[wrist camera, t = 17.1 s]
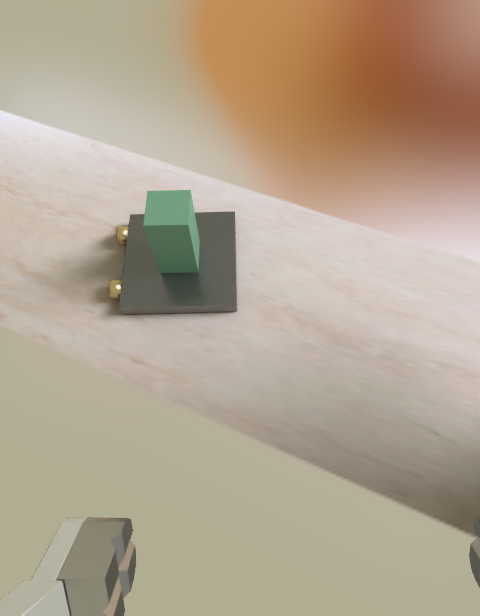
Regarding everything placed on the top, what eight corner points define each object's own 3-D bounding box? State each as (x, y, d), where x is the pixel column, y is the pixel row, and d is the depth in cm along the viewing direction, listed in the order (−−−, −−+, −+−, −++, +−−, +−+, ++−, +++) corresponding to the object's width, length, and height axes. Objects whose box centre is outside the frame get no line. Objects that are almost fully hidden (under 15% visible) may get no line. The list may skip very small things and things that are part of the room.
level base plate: (234, 211, 49) (234, 200, 47) (236, 311, 43) (236, 302, 41) (124, 215, 49) (119, 203, 48) (111, 314, 43) (105, 306, 42)
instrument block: (199, 236, 46) (190, 185, 39) (198, 272, 44) (188, 224, 37) (163, 237, 46) (148, 186, 39) (160, 272, 44) (143, 225, 37)
